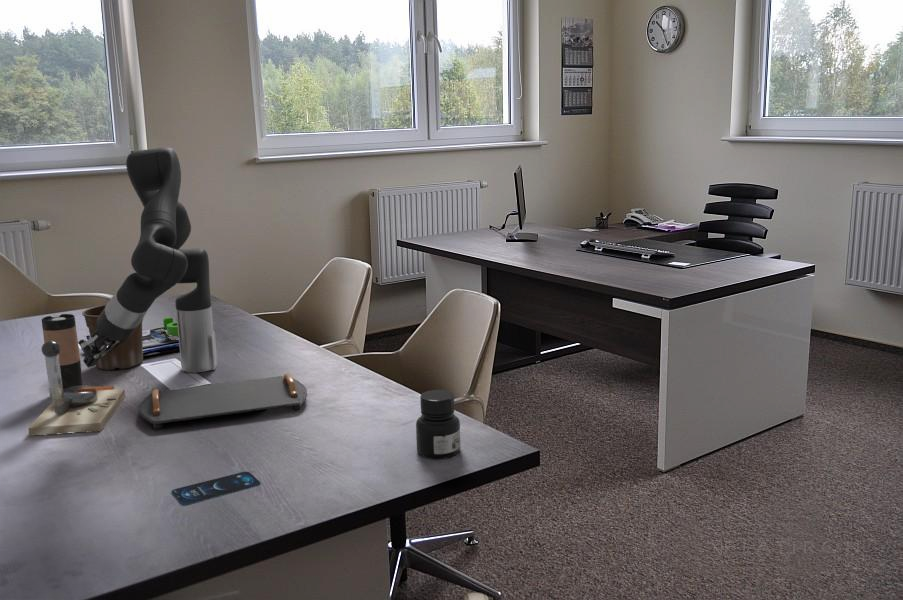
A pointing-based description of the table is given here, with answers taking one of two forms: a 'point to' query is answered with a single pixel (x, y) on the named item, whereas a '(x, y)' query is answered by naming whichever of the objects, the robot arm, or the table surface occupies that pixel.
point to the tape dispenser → (170, 326)
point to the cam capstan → (58, 395)
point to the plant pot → (122, 355)
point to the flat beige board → (79, 415)
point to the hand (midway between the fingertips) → (88, 363)
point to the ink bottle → (437, 425)
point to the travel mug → (65, 346)
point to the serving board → (222, 399)
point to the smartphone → (215, 488)
